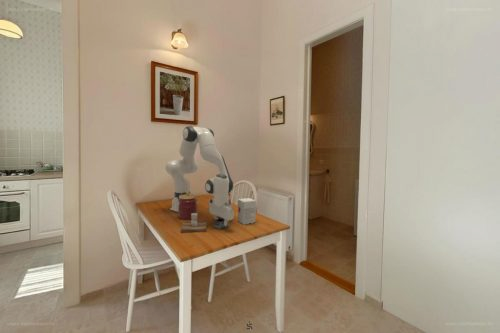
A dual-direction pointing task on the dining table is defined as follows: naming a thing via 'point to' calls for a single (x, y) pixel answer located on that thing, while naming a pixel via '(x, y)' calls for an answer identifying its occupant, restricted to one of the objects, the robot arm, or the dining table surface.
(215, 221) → the collar
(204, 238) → the dining table surface
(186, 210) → the canister
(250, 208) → the supplement box
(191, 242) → the dining table surface
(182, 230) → the post base
